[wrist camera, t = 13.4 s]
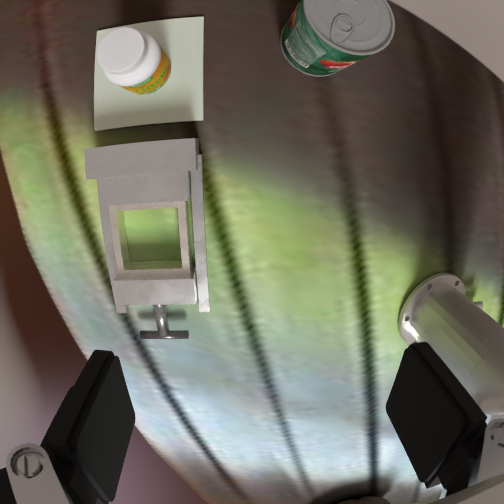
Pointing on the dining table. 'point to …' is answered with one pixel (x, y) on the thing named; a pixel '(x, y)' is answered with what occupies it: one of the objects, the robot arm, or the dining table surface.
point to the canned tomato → (335, 34)
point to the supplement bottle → (134, 60)
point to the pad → (171, 94)
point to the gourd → (367, 501)
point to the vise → (151, 197)
